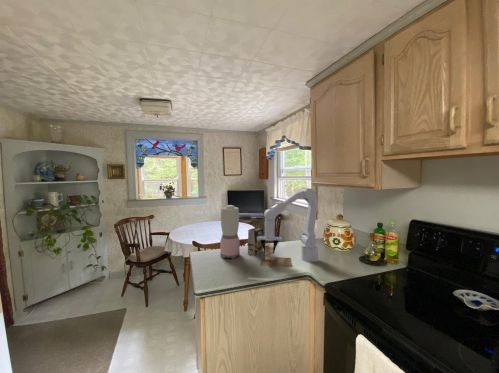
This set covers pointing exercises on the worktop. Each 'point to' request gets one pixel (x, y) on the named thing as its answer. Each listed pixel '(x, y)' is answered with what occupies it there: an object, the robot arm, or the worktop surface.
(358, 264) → the worktop surface
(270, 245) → the block
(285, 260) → the base
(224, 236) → the blender
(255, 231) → the coffee box
